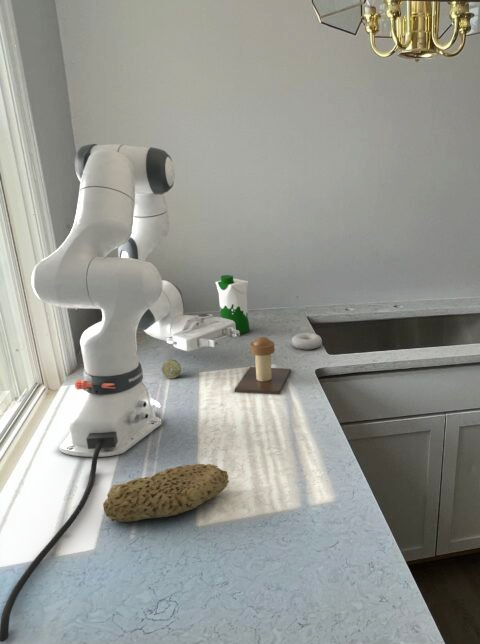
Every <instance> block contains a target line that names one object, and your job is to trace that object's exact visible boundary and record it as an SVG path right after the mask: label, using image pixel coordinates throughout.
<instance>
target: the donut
mask: <svg viewBox="0 0 480 644" xmlns="http://www.w3.org/2000/svg"><path fill="white" fill-rule="evenodd" d="M291 344H292V347H294V348H295V349H297V350H304V351H311V350H315V349H317V348H320V347H321V345H322V344H323V339H322V337H321V336H320V335H318V334H316V333H312V332H302V333H298V334H295V335H294V336H293V337H292V339H291Z"/></svg>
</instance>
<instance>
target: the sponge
mask: <svg viewBox="0 0 480 644" xmlns="http://www.w3.org/2000/svg"><path fill="white" fill-rule="evenodd" d="M229 483H230V481H229V475H228V471H227V470H223V469H221V468H219V467H218V465H215V464H211V463H206V464H204V463H196V464H186V465H179V466H175V467H169V468H165V469H164V471H162V470H160V471H158V472H156V473H155V474H153V475H151V476H146V477H139V478H135V479H132V480H129V481H126V482H120V483H115V484H113V485H112V486H111V488H110V490H109V491H108V493H107V495H106V496H107V498H106V499H104V501H103V503H102V506H103V512H104V515H105V516H106V517H107V518H108V519H109V520H110V521H111V522H121V523H128V522H138V521H139V522H140V521H141V520H142V521H143V520H146V519H159V518H167V517H172V516H176V515H179V514H183V513H185V512H187V511H191V510H193V509H196V508H197V507H198V506H200V505H202V504H203V503H205V502H206V501H208V500H210V499H212V498H214V497H215V496H218V495H220V493H221V492H223V491H224V490H225V489H226V488H227V487H228V484H229Z"/></svg>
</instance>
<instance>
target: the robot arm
mask: <svg viewBox="0 0 480 644" xmlns="http://www.w3.org/2000/svg"><path fill="white" fill-rule="evenodd" d="M171 157H172V156H170V154H168V152H167V151H166V150H164V149H161V148H157V147H153V146H151V147H146V146H145V147H143V146H139V145H129V144H128V145H127V144H123V143H110V144H109V143H108V144H107V143H106V144H97V143H90V144H85V145H82V146H81V147H79V149H78V150H77V151H76V153H75V155H74V170H75V174H76V176H77V179H78V181H79V182H80V183H79V191H78V197H77V198H78V199H77V205H76V212H75V216H74V222H73V224H72V228H71V230H70V232H69V233H68V236H67V237H66V238H65V240H64V241H63V242H62V244H61V245H60V246H59V247H58V248H57V249H55V251H54V252H52V253H51V254H50V255H47V256H46V257H45V258H43V259H41V260H40V261H39V262H37V264H36V265H35V266H34V268H33V270H32V274H31V287H32V289H33V292H34V294H35V295H36V297H37V298H38V299H39V300H40V301H41V302H42V303H43V304H45V305H50V306H54V307H58V308H64V309H77V310H78V309H80V310H81V309H83V310H89V309H90V310H100V311H101V315H102V318H101V321H100V320H99V321H98V322H96V323H94V324H92V325H91V326H89V327H87V329H85V330H84V331H83V332H82V334H81V336H80V339H79V345H80V350H81V357H82V362H83V366H84V369H83V373H82V378H81V379H82V380H80V379H77V380H76V381H75V383H74V387H75V389H76V390H82V393H81V395H80V397H79V399H78V401H77V404H76V406H75V408H74V410H73V413H72V415H71V416H70V420H69V433H68V435H67V436H66V437H65V438H64V440H63V442H61V444H60V446H59V450H60V452H62V453H64V454H66V455H69V456H74V457H75V456H76V457H87V458H89V457H90V458H91V465H90V470H89V471H90V472H89V476H88V481H87V484H86V487H85V490H84V492H83V495H82V497H81V498H80V501H79V503H78V504H77V506H76V508H75V509H74V511H73V512H72V513H71V515H70V517H69V518H67V520H66V521H65V522H64V524H63V525H62V526H61V527H60V528H59V530H58V531H57V532H56V533H55V535H54V536H53V537H52V538H51V540H50V541H49V542H48V543H47V544H46V545H45V546H44V547H43V548H42V550H41V551H40V552H39V553H38V554H37V555H36V557H35V558H34V560H32V562H31V563H30V564H29V566H27V567H28V568H27V569H26V570H25V571H24V573H23V574H22V576H20V578H19V580H18V581H17V583H16V584H15V586H14V587H13V589H12V591H11V592H10V594H9V597H8V598H7V600H6V603H5V604H4V607H3V610H2V613H1V616H0V643H4V642H6V641H7V639H8V638H9V629H10V619H11V612H12V610H13V607H14V605H15V602H16V600H17V598H18V596H19V594H20V592H21V591H22V589H23V587H24V585H25V584H26V582H27V581H28V579H29V578H30V577H31V576H32V574H33V573H34V572H35V570H36V569H37V568H38V566H39V565H40V563H41V562H42V561H43V559H44V558H46V556H47V555H48V554H49V552H50V551H51V550H52V549H53V548H54V547H55V546H56V544H57V543H58V542H59V540H60V539H61V538H62V537H63V536H64V534H66V532H67V531H68V529H69V528H70V527H71V526H72V525H73V523H74V522H75V520H76V519H77V518H78V517H79V515H80V513H81V512H82V510H83V508H84V507H85V505H86V503H87V501H88V500H89V497H90V494H91V492H92V490H93V487H94V483H95V478H96V473H97V466H98V460H99V458H101V457H102V458H103V457H104V458H105V457H112V456H113V457H114V456H119V455H122V454H124V453H126V452H127V451H128V450H130V449H131V448H132V447H134V446H135V445H136V444H138V443H139V442H140V441H141V440H143V439H144V438H145V437H146V436H148V435H149V434H151V433H152V432H153V431H155V430H156V429H157V428H159V427H160V426H162V419H161V418H160V417H158V416H157V415H156V411H155V407H157V408H161V403H160V402H159V401H157V400H155V399H153V398H152V394H151V391H150V390H149V388H147V386H146V385H145V383H144V382H143V379H144V374H143V373H144V372H143V368H142V364H141V363H140V362H139V355H138V343H137V332H138V331H143V332H144V333H145V334H146V335H148V336H149V337H152V338H154V339H157V340H160V341H164V342H166V344H169V345H172V346H173V347H174V348H175V349H177V350H181V351H184V352H193V351H195V350H197V349H200V348H207V347H211V348H215V347H217V346H218V345H219V344H218V341H219V340H221V339H224V338H226V337H230V336H231V337H232V338H235V339H236V338H238V337H240V336H241V334H240V332H239V331H238V330H236V325H235V322H234V321H233V320H229V319H226V318H221V316H214V315H213V314H212V313H204V314H196V315H194V314H190V315H189V314H185V301H184V296H183V293H182V291H181V290H180V288H179V286H177V285H176V284H175V283H173V282H172V281H169V280H166V279H162V275H161V273H160V271H159V270H158V268H157V267H156V266H155V264H153V263H152V262H150V261H146V259H147V258H148V257H149V255H150V254H151V253H152V252H153V251H154V250H155V249H156V248H157V247H158V246H159V245H160V244H161V243H162V242H163V241H164V240H165V239H166V237H167V236H168V234H169V232H170V231H169V230H170V216H169V210H168V203H167V199H166V195H165V194H166V193H168V192H169V191H170V190H171V189H172V188H173V187H174V182H175V177H176V170H175V166H174V163H173V160H172V158H171ZM115 249H117V257H116V256H114V257H113V256H111V257H110V256H108V255H109V254H110V253H111V252H112V251H114V250H115ZM154 406H155V407H154Z"/></svg>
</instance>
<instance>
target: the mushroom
mask: <svg viewBox="0 0 480 644" xmlns="http://www.w3.org/2000/svg"><path fill="white" fill-rule="evenodd" d="M249 346H250V354H252V355H254V359H255V360H254V361H255V363H254V364H255V367H256V379H257V380H258V381H268V380H271V379H272V374H271V368H272V357H271V356H272V354H274V353H275V342H274V341H273V340H271V339H270V338H268V337H267V336H258V337H257V338H255V339H254V340H253V341H251V342H250V343H249Z"/></svg>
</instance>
